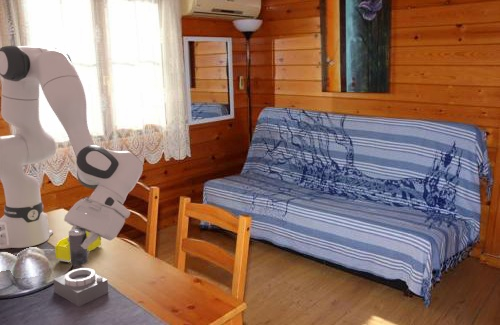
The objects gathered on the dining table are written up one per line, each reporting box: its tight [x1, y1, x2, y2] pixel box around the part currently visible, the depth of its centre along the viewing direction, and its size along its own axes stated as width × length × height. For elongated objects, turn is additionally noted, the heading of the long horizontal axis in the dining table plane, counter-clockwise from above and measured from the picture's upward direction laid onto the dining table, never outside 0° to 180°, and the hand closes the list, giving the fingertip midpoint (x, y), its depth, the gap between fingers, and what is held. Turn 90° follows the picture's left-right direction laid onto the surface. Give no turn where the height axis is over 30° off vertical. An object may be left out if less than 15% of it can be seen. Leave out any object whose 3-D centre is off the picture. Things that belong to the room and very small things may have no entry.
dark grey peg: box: [68, 228, 89, 267], centre depth 113 cm, size 4×4×9 cm
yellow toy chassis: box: [54, 231, 102, 261], centre depth 139 cm, size 16×6×8 cm, turn 161°
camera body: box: [53, 267, 109, 307], centre depth 115 cm, size 12×9×6 cm
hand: (76, 245), depth 112 cm, fingers closed on dark grey peg, 4 cm apart
